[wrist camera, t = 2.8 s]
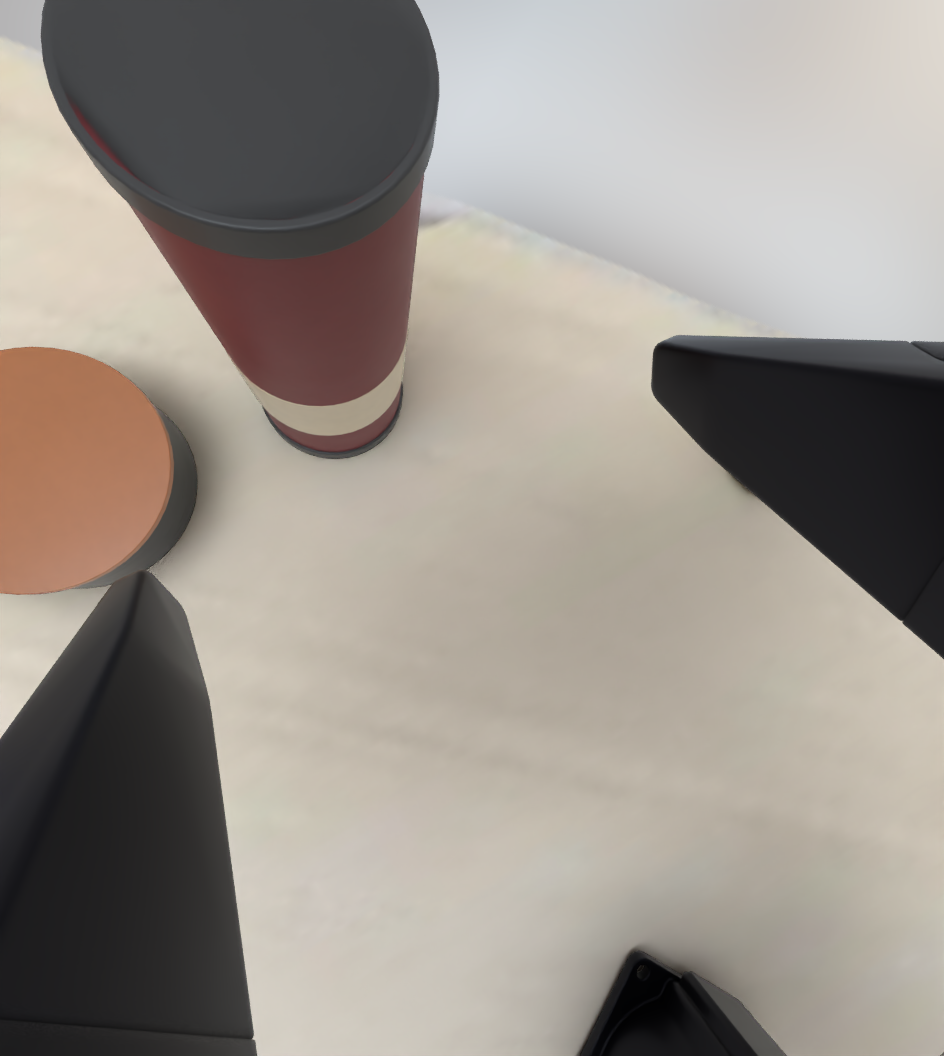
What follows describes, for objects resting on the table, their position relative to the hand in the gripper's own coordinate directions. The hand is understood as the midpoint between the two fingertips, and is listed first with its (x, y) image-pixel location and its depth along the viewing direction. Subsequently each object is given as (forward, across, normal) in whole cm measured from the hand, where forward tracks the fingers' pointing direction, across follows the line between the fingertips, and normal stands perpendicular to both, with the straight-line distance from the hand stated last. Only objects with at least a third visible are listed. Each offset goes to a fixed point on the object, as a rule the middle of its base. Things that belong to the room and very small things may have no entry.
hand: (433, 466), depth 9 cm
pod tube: (+13, 0, +4) cm, 14 cm away
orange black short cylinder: (+13, +9, +4) cm, 17 cm away
